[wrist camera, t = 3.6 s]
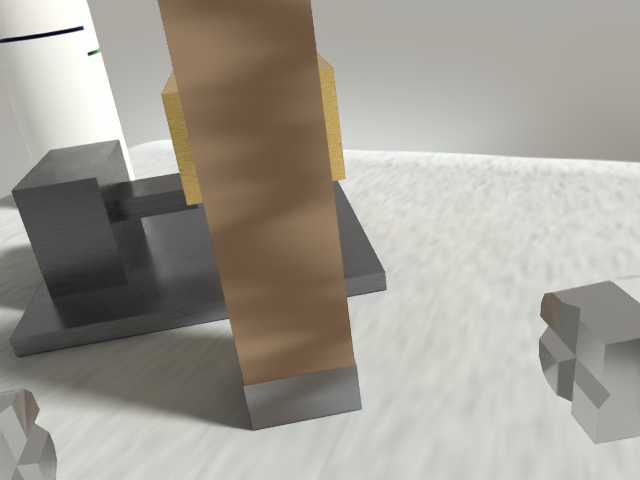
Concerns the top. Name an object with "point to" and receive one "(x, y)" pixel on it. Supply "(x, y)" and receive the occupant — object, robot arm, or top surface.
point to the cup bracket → (143, 240)
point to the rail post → (268, 198)
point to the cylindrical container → (56, 76)
